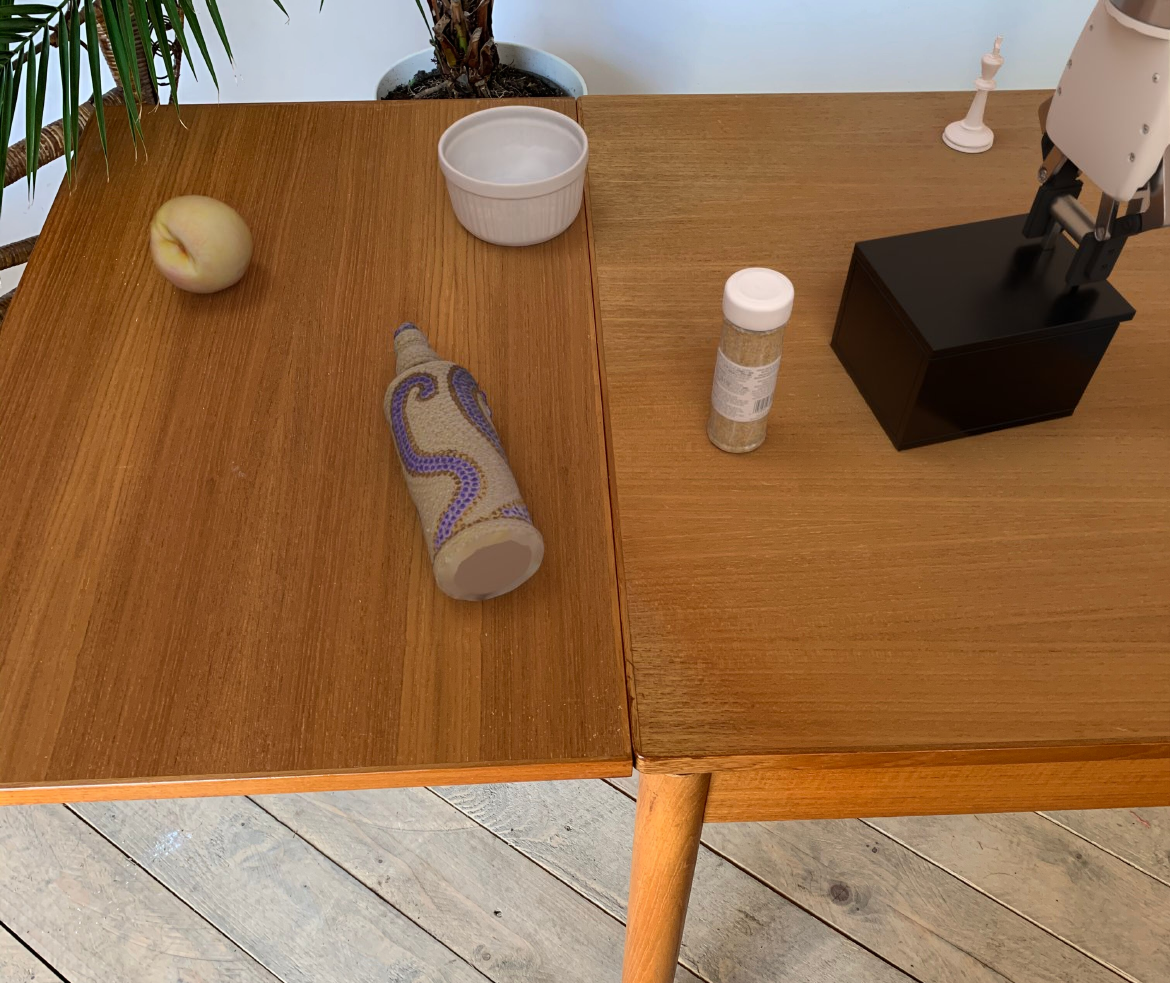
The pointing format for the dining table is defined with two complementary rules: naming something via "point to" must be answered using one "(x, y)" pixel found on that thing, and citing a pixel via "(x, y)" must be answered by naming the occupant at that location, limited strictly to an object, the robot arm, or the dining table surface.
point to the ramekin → (515, 173)
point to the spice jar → (748, 357)
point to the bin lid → (991, 281)
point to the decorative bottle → (458, 475)
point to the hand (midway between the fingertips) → (1063, 254)
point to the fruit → (200, 244)
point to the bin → (956, 373)
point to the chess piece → (976, 110)
